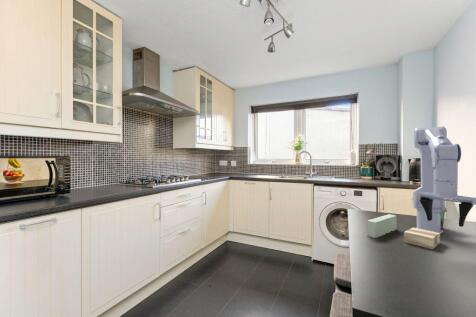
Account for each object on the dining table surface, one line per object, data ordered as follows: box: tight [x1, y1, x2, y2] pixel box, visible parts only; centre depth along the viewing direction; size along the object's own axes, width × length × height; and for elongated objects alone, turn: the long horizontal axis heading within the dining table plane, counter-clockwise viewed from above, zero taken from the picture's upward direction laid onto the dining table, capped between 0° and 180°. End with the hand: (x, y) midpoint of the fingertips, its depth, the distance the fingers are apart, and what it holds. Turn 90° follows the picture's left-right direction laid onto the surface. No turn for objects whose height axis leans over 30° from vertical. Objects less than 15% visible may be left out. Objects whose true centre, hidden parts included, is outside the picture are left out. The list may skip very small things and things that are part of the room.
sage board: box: [366, 213, 398, 239], centre depth 91 cm, size 20×3×6 cm, turn 125°
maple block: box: [403, 227, 441, 250], centre depth 81 cm, size 10×8×4 cm
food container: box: [439, 207, 448, 230], centre depth 100 cm, size 12×6×10 cm, turn 169°
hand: (444, 223), depth 72 cm, fingers open, 7 cm apart
